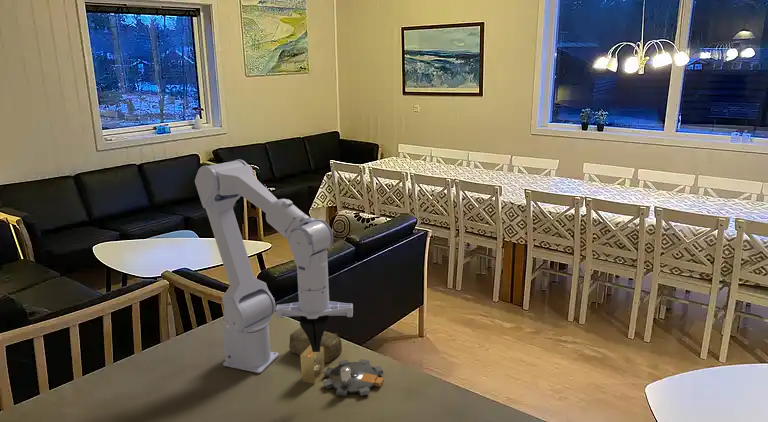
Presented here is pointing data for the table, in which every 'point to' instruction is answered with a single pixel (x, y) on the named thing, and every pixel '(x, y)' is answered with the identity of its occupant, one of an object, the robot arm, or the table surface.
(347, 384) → the sprocket
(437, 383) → the table surface
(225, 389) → the table surface
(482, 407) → the table surface
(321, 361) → the tan rectangular block
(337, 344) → the stone block
